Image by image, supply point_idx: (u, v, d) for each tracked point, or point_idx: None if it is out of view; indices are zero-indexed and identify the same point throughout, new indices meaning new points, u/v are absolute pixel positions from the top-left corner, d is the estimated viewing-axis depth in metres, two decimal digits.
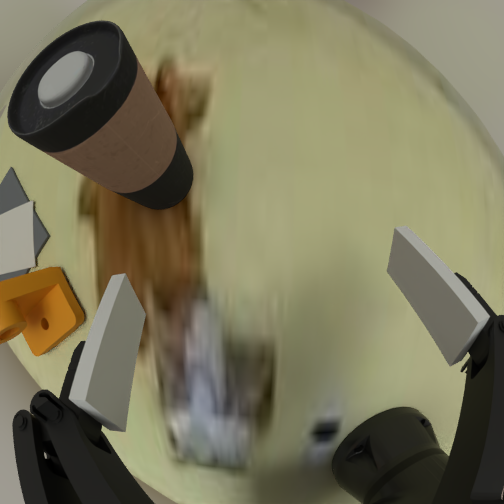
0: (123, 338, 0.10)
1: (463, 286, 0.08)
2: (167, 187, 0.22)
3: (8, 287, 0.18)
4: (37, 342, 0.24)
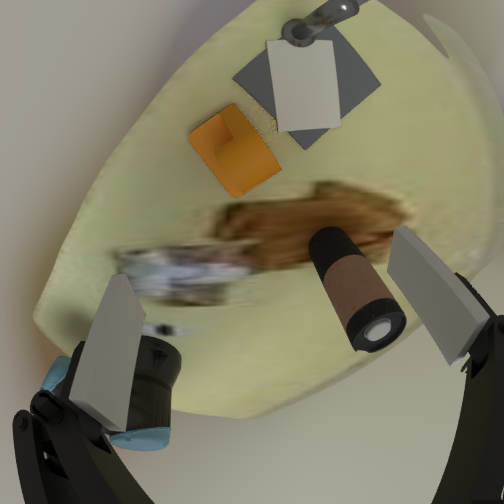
0: (123, 338, 0.10)
1: (463, 286, 0.08)
2: None
3: (274, 174, 0.28)
4: (204, 143, 0.31)
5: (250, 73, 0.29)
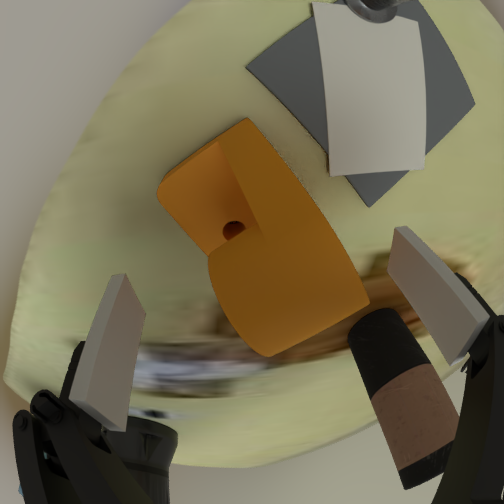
0: (123, 338, 0.10)
1: (463, 286, 0.08)
2: None
3: None
4: (190, 204, 0.16)
5: (282, 58, 0.14)
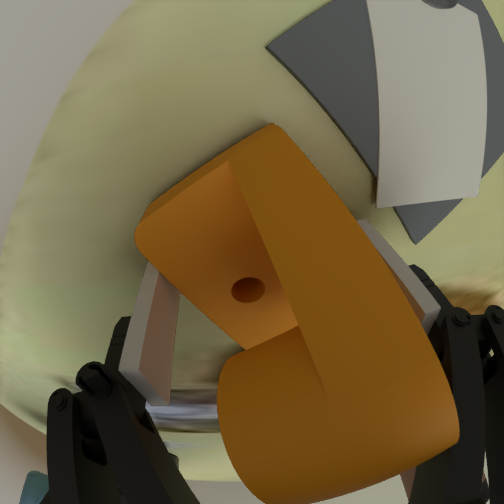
0: (165, 313, 0.11)
1: (415, 277, 0.09)
2: None
3: None
4: (184, 254, 0.11)
5: (320, 37, 0.08)
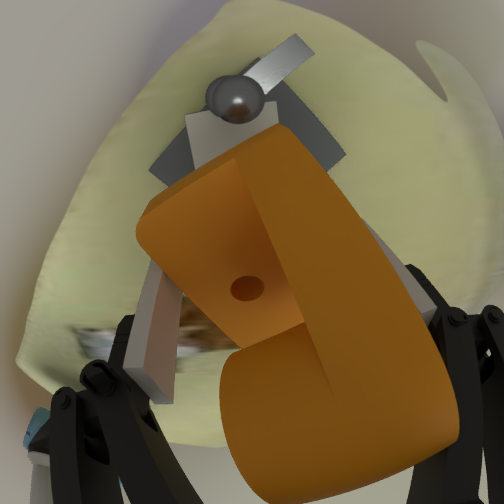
0: (168, 311, 0.11)
1: (411, 277, 0.09)
2: None
3: None
4: (185, 250, 0.11)
5: (168, 161, 0.26)
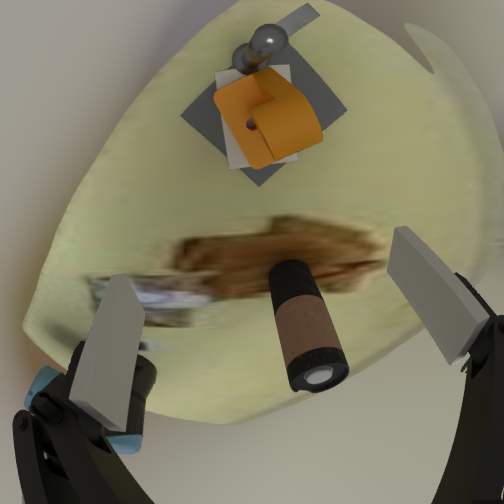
0: (123, 338, 0.10)
1: (462, 287, 0.08)
2: None
3: None
4: (231, 104, 0.27)
5: (198, 109, 0.29)
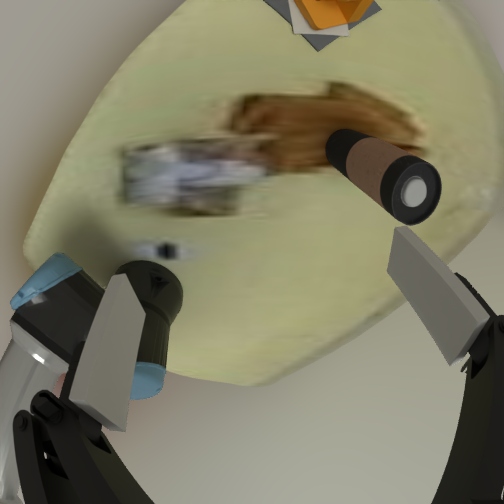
0: (123, 338, 0.10)
1: (463, 286, 0.08)
2: (342, 172, 0.37)
3: (368, 1, 0.20)
4: None
5: None
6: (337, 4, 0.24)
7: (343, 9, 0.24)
